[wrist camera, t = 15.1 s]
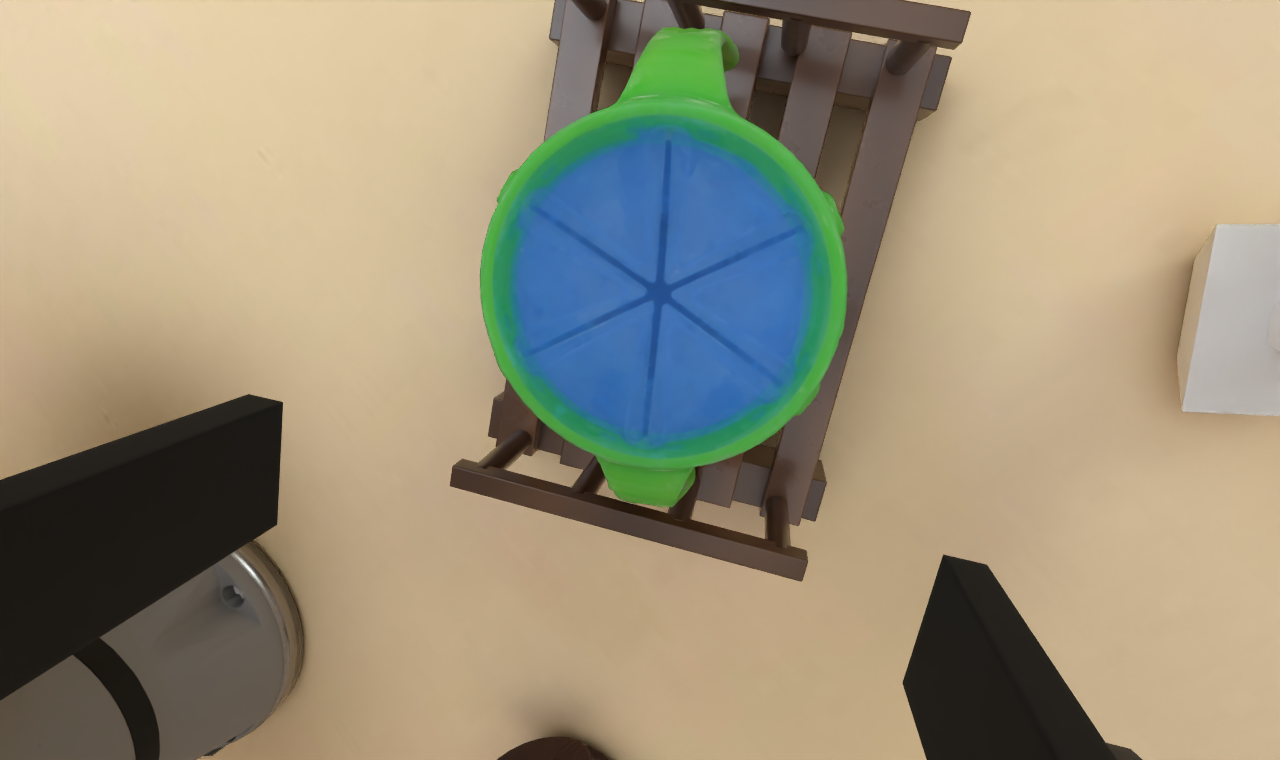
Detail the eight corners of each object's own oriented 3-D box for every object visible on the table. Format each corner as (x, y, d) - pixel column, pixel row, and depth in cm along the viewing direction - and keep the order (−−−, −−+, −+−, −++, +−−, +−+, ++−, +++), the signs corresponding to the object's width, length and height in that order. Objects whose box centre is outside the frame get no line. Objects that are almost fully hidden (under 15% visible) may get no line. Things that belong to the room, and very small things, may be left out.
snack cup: (772, 470, 30) (775, 588, 21) (544, 415, 32) (446, 502, 22) (867, 95, 27) (927, 24, 17) (603, 50, 28) (515, -41, 18)
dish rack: (509, 419, 37) (424, 486, 27) (575, 8, 31) (498, -77, 22) (811, 496, 35) (827, 595, 26) (934, 72, 29) (1009, 7, 20)
